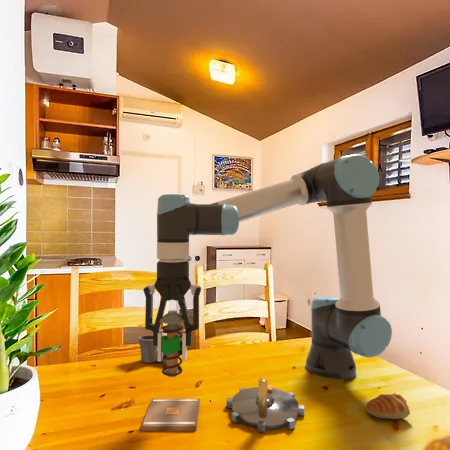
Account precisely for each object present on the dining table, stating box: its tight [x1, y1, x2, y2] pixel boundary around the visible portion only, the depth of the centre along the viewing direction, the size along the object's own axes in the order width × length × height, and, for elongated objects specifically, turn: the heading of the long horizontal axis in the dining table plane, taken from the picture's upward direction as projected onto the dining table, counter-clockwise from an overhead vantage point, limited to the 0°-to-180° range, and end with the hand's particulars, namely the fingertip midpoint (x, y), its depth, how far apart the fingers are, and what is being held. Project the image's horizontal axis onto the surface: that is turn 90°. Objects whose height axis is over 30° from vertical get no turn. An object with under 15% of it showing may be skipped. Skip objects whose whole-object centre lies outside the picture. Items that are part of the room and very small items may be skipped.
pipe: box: [137, 334, 167, 364], centre depth 114 cm, size 6×13×8 cm, turn 74°
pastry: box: [365, 392, 411, 420], centre depth 83 cm, size 9×7×4 cm
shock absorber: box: [159, 309, 185, 378], centre depth 82 cm, size 6×6×15 cm
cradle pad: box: [140, 398, 201, 432], centre depth 82 cm, size 12×12×1 cm
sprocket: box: [225, 377, 305, 433], centre depth 84 cm, size 19×19×10 cm
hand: (172, 359), depth 82 cm, fingers closed on shock absorber, 5 cm apart
